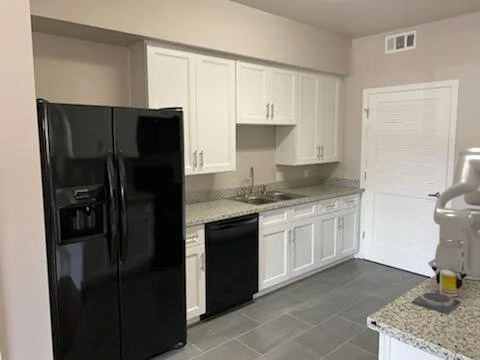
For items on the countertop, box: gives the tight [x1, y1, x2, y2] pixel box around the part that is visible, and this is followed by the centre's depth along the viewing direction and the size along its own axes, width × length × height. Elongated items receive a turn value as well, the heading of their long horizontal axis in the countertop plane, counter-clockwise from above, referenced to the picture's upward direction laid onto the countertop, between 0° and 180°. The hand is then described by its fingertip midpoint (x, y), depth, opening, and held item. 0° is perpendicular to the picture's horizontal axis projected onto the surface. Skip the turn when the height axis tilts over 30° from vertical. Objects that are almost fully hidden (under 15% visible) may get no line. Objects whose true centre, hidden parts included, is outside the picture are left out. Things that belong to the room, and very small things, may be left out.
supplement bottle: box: [439, 266, 459, 298], centre depth 149 cm, size 7×7×13 cm
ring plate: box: [411, 291, 462, 315], centre depth 141 cm, size 13×13×2 cm
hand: (448, 285), depth 149 cm, fingers closed on supplement bottle, 6 cm apart
